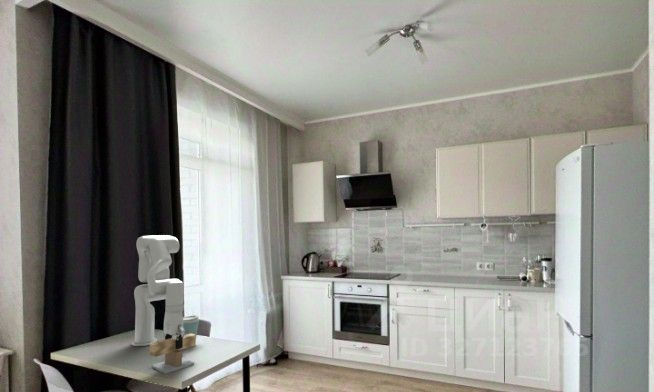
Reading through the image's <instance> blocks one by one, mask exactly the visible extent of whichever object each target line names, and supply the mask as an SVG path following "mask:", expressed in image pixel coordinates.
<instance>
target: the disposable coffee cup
mask: <svg viewBox="0 0 654 392" xmlns="http://www.w3.org/2000/svg"><path fill="white" fill-rule="evenodd" d="M199 321H200V318H199V315H197V314H196V315H188V316H183V329H184V330H185V333H184V335H187V334H191V333H192V334H195V335H196V337H197V336H198V329H199Z"/></svg>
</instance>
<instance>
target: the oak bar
mask: <svg viewBox="0 0 654 392" xmlns="http://www.w3.org/2000/svg"><path fill="white" fill-rule="evenodd" d="M196 340H197V336H196V335H195V334H192V333H191V334H187V335H184V337H183V347H182V348H180V349H175V341H176V337H172V338H170V339H166V340H165V339H163V340H159V341H158V340H157V342H154V343H150V345H149V356H150V357H153V358H156V357H159V356H163V355H165V354H167V353H171V352H174V351H178V350H179V351H182V350H184V349H189V348H193V347H195V346H196V343H197V342H196Z"/></svg>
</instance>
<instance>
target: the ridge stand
mask: <svg viewBox="0 0 654 392" xmlns="http://www.w3.org/2000/svg"><path fill="white" fill-rule="evenodd" d="M164 356H165V357H164V361H162V362H157V363H155V364H154V363H153V364H152V365H151V368H152V369H154V370H157V371H159V372H160V373H162V374H165V375H166V374H169V373H172V372H175V371H179V370H181V369H185V368H189V367H191V366H195V362H194V361H193V360H190V359H187V358H186V357H183V351H182V350H178V351H174V352H171V353H167V354H164Z"/></svg>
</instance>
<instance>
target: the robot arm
mask: <svg viewBox="0 0 654 392" xmlns="http://www.w3.org/2000/svg"><path fill="white" fill-rule="evenodd" d="M135 246H136V249H137V254H138V259H139V260H138V271H137V273H138V274H137V275H138V281H140V283H145V284H140V285H137V286H136V287H135V288H134V292H133V295H134V302H135V318H134V319H135V320H134V322H135V324H134V328H135V329H134V340H132V341H131V346H133V347H146V346H150V343H154V342H158V339H157V337H155V315H156V312H155V310H156V309H155V307H154V306H153V304H151V303H150V302H153V301H154V302H155V301H161V300H165V309H164V310H165V312H164V316H163V317H164V318H163V332H164V340H166V339H170V338H173V336H175V337H176V341H175V349H180V348H182V347H183V337H184V333H185V330H184V329H183V317H184V314H183V312H184V282H183V281H182V280H180V279H179V278H170V277H171V276H170V266H171V265H172V262H173V260H172V256H171V254H176V253H178V252H179V250H180V242H179V240H178V238H177V237H176V236H172V235H170V234H169V235H168V234H166V235H165V234H163V235H162V234H161V235H160V234H159V235H155V234H154V235H153V234H152V235H142V236H140V237H138V238H137V240H136V245H135Z"/></svg>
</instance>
